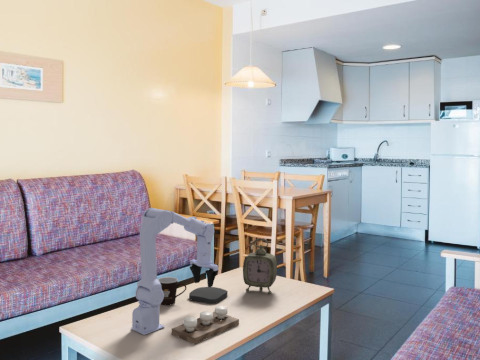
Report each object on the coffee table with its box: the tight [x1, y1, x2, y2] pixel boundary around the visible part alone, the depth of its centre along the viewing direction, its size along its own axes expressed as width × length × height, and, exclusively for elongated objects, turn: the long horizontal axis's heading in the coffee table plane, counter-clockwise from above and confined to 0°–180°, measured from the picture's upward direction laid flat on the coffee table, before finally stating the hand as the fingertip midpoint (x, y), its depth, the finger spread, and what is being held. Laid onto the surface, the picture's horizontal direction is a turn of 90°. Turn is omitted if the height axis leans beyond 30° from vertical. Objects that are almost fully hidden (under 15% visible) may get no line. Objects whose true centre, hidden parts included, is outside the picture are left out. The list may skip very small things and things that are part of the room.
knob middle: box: [199, 310, 213, 325], centre depth 164 cm, size 5×5×4 cm
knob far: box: [214, 305, 228, 319], centre depth 170 cm, size 5×5×4 cm
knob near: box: [183, 316, 197, 333], centre depth 158 cm, size 5×5×4 cm
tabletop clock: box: [242, 238, 278, 295], centre depth 207 cm, size 14×9×25 cm, turn 73°
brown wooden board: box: [171, 311, 240, 345], centre depth 164 cm, size 23×12×2 cm, turn 139°
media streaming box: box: [188, 286, 228, 305], centre depth 199 cm, size 15×15×3 cm
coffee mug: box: [157, 276, 187, 306], centre depth 190 cm, size 12×9×10 cm
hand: (203, 284), depth 185 cm, fingers open, 7 cm apart
